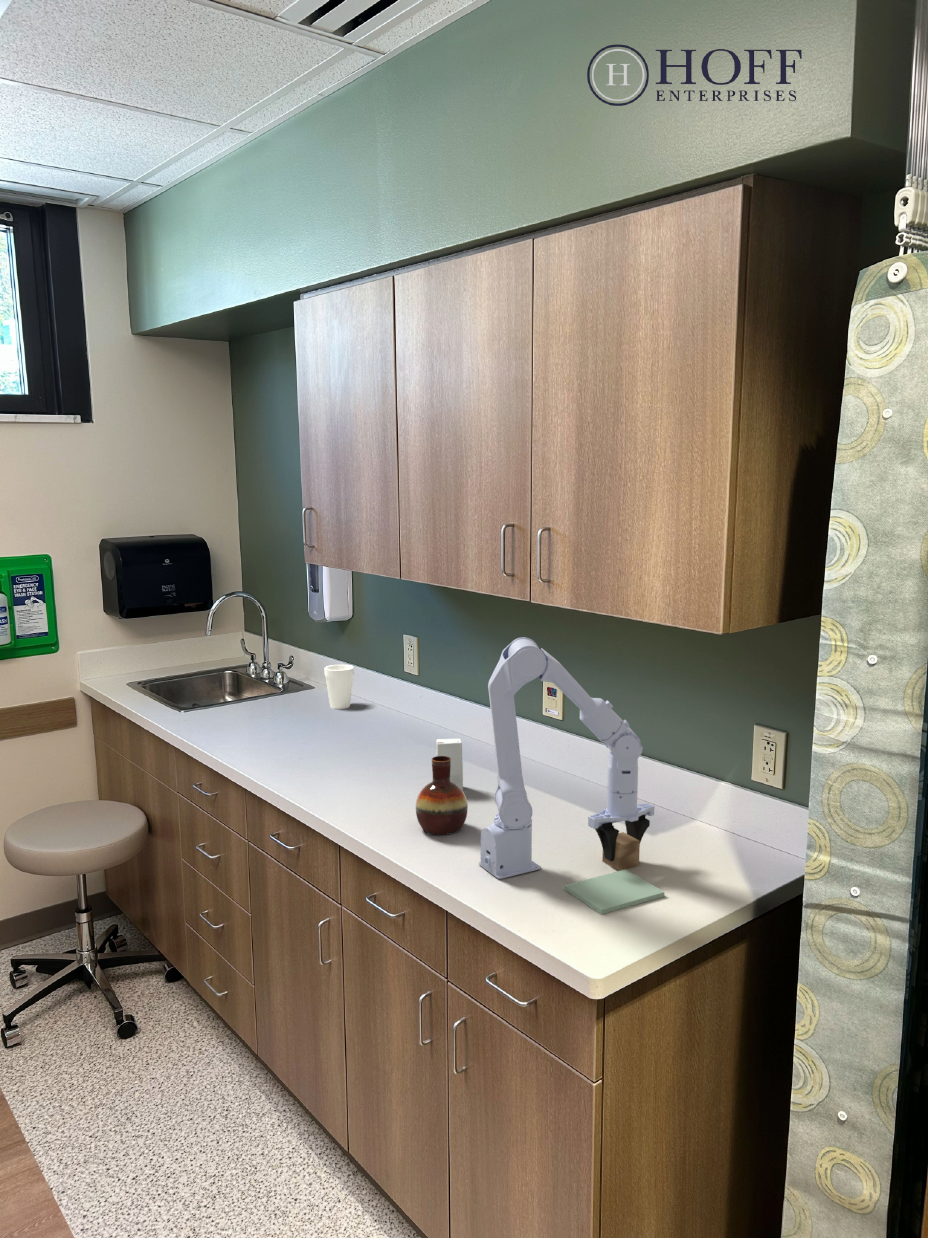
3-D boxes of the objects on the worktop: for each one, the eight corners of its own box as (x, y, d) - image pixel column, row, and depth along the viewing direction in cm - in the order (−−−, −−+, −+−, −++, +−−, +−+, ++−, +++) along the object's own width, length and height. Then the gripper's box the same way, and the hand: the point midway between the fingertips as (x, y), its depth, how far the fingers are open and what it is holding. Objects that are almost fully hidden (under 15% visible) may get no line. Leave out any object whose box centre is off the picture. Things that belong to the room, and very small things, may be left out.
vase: (406, 833, 194) (405, 762, 192) (430, 816, 204) (429, 748, 202) (454, 841, 190) (454, 769, 187) (475, 823, 200) (475, 754, 197)
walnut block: (618, 870, 176) (619, 846, 175) (602, 861, 180) (602, 837, 179) (639, 865, 178) (639, 841, 177) (622, 856, 182) (623, 832, 181)
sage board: (601, 914, 158) (601, 910, 158) (564, 889, 168) (564, 885, 168) (664, 896, 165) (664, 892, 165) (625, 873, 174) (625, 869, 174)
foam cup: (323, 704, 304) (322, 665, 302) (351, 702, 306) (350, 663, 304) (328, 711, 295) (327, 671, 293) (356, 708, 297) (355, 669, 295)
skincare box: (461, 785, 224) (461, 737, 222) (463, 791, 220) (463, 742, 218) (436, 786, 223) (435, 738, 221) (437, 792, 219) (437, 743, 217)
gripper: (604, 802, 170) (603, 872, 172) (665, 789, 176) (663, 856, 179) (582, 790, 176) (580, 858, 178) (641, 778, 183) (640, 843, 185)
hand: (620, 856), depth 179 cm, fingers closed on walnut block, 5 cm apart
